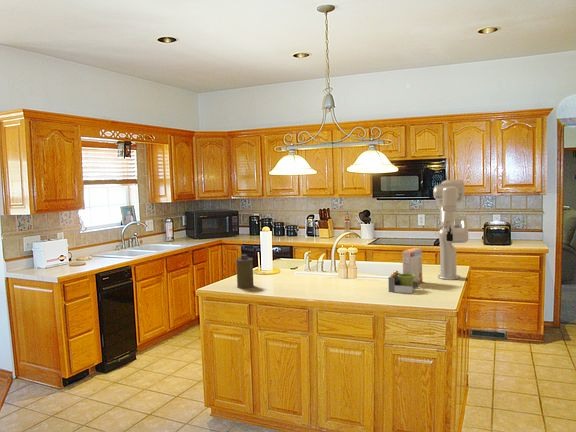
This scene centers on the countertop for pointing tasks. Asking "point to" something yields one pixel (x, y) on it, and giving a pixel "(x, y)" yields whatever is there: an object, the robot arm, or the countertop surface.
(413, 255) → the cracker box
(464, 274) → the countertop surface
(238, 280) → the canister
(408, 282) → the plant pot
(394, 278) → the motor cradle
